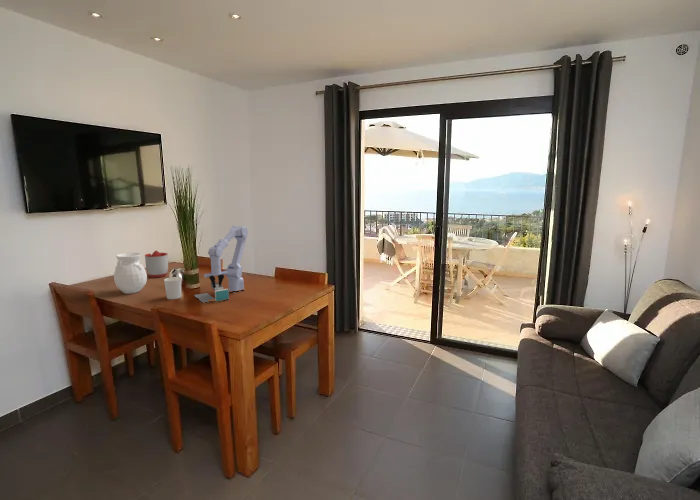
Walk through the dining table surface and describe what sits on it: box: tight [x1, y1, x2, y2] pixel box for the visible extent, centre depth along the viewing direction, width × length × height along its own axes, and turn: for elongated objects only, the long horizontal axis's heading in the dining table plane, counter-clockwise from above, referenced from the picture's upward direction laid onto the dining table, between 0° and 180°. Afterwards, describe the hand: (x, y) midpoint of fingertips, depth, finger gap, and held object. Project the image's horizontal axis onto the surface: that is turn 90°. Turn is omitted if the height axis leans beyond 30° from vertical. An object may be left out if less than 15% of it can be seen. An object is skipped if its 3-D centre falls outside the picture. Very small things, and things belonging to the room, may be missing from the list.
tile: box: [214, 288, 230, 302], centre depth 223 cm, size 8×2×7 cm, turn 129°
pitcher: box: [113, 252, 148, 295], centre depth 237 cm, size 19×18×25 cm
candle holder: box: [163, 276, 182, 300], centre depth 228 cm, size 10×10×12 cm
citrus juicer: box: [144, 250, 169, 279], centre depth 278 cm, size 16×17×20 cm
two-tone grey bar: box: [210, 281, 224, 292], centre depth 229 cm, size 3×14×4 cm, turn 38°
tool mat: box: [193, 292, 215, 304], centre depth 228 cm, size 8×18×1 cm, turn 39°
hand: (217, 286), depth 229 cm, fingers closed on two-tone grey bar, 3 cm apart
